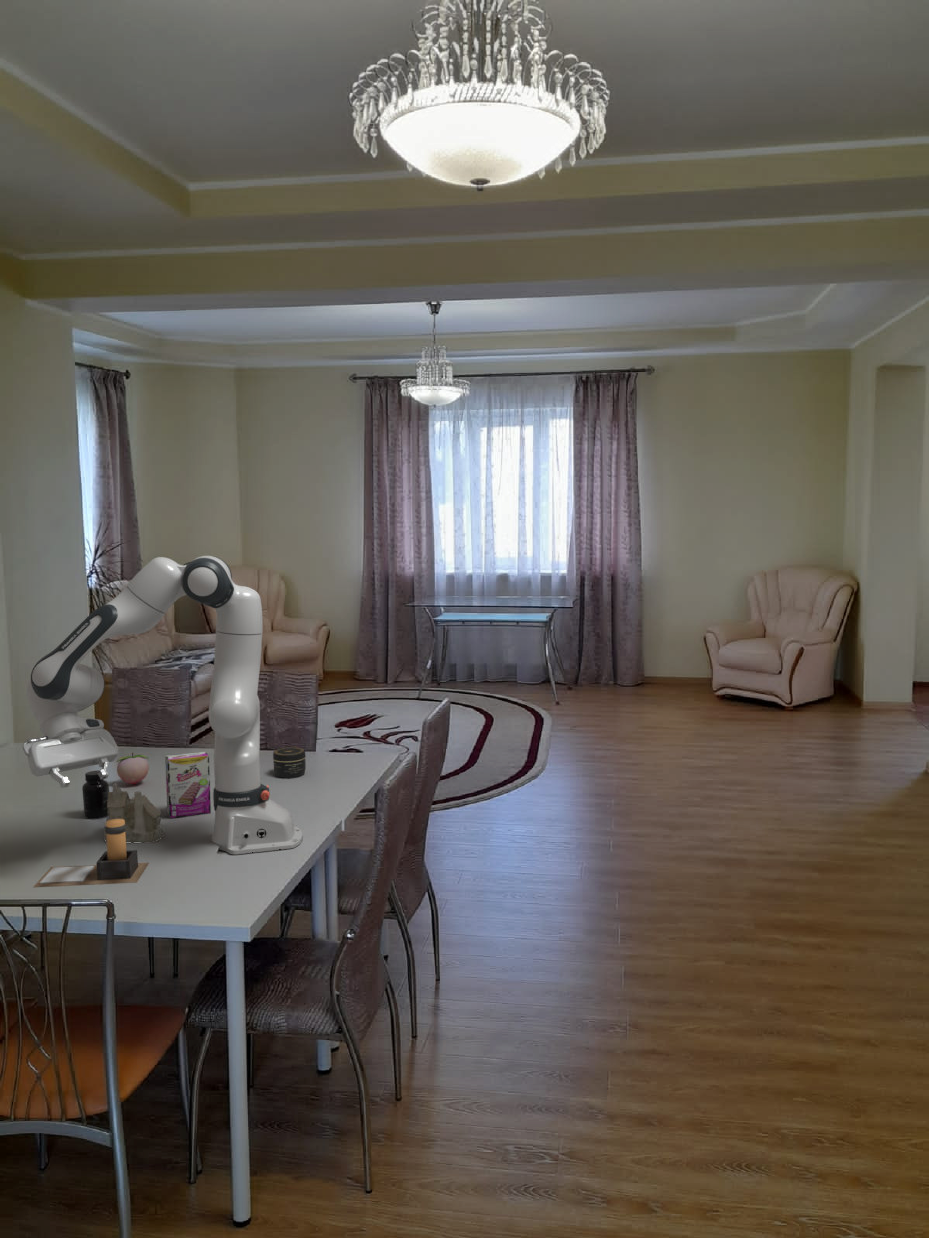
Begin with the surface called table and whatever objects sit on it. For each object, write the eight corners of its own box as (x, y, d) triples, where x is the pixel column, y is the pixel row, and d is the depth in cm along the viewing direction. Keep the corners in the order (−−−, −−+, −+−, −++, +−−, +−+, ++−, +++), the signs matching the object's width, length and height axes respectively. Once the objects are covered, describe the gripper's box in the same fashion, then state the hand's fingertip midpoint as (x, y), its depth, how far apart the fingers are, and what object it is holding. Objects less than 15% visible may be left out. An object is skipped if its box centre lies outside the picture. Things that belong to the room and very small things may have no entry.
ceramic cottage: (152, 844, 242) (148, 784, 241) (91, 844, 245) (87, 785, 244) (180, 828, 257) (177, 771, 257) (123, 828, 260) (119, 772, 259)
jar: (311, 775, 303) (310, 751, 302) (281, 781, 297) (280, 756, 297) (297, 768, 311) (297, 745, 310) (268, 774, 306) (267, 750, 305)
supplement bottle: (104, 809, 271) (101, 767, 270) (115, 815, 266) (112, 772, 265) (79, 815, 266) (77, 772, 265) (90, 821, 262) (87, 777, 260)
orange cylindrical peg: (129, 869, 221) (126, 818, 220) (125, 876, 217) (122, 824, 216) (111, 870, 221) (108, 818, 220) (106, 877, 217) (103, 824, 216)
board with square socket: (149, 868, 226) (148, 845, 225) (137, 888, 214) (135, 864, 213) (51, 873, 224) (49, 850, 223) (33, 893, 212) (31, 869, 211)
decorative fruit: (124, 790, 289) (123, 757, 288) (114, 785, 295) (112, 753, 294) (155, 784, 295) (153, 752, 294) (144, 779, 301) (142, 747, 300)
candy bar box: (169, 819, 262) (166, 759, 260) (167, 814, 266) (164, 755, 265) (212, 813, 267) (209, 754, 265) (208, 808, 271) (206, 750, 269)
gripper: (23, 733, 221) (45, 783, 216) (108, 719, 237) (130, 765, 231) (16, 749, 225) (37, 798, 220) (100, 734, 240) (121, 780, 235)
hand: (85, 781), depth 225 cm, fingers open, 8 cm apart
